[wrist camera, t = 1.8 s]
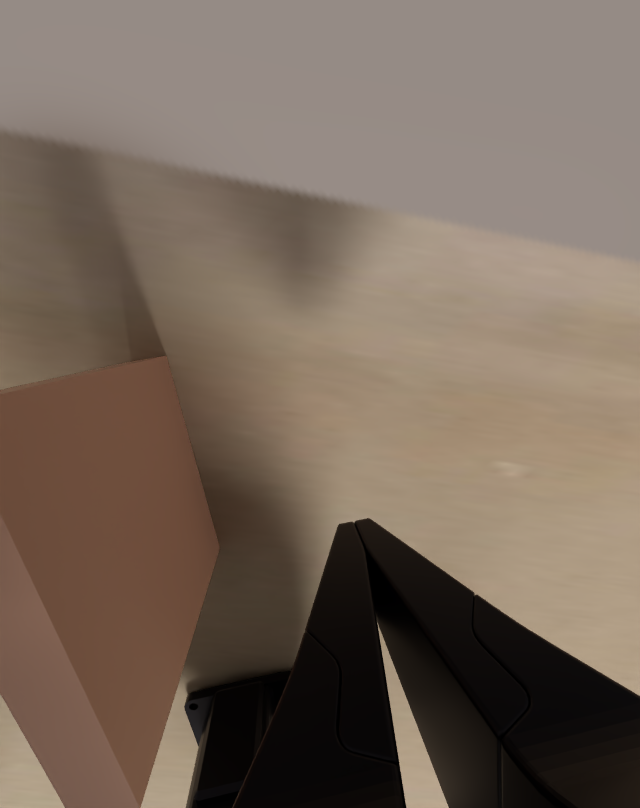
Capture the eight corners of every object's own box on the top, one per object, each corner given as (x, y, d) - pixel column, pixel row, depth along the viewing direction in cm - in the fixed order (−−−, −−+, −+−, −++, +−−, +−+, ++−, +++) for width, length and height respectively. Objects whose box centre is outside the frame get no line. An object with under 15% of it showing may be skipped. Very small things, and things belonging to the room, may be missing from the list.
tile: (220, 547, 16) (140, 808, 7) (190, 554, 16) (73, 824, 7) (166, 355, 14) (-52, 405, 5) (130, 361, 13) (-156, 423, 5)
